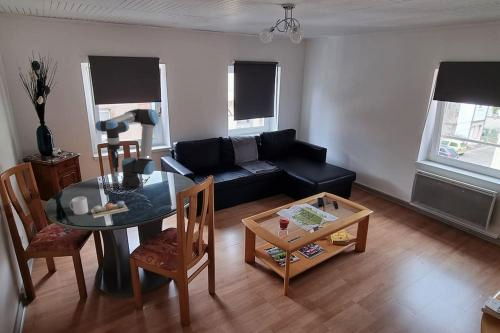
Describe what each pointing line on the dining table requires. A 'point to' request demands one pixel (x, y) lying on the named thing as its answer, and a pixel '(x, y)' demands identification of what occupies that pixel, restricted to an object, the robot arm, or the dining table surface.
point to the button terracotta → (109, 206)
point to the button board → (106, 212)
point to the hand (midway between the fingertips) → (116, 175)
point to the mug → (79, 205)
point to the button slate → (120, 204)
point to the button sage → (97, 209)
